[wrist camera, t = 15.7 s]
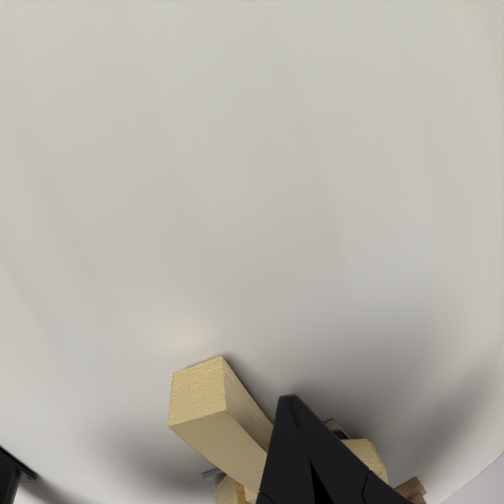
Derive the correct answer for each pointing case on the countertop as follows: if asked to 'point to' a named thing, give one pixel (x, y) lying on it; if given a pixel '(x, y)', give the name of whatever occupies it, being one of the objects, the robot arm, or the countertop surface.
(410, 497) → the peg rack
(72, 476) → the countertop surface
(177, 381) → the gold flat handled piece
